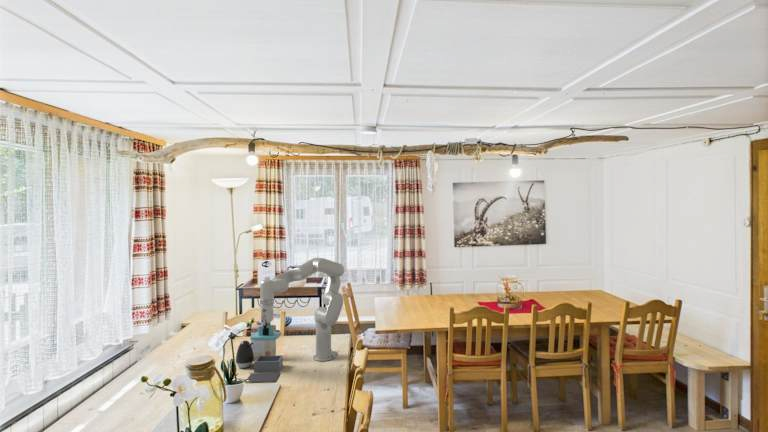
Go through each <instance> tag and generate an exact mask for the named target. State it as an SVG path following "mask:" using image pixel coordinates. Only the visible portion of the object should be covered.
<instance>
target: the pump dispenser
mask: <svg viewBox="0 0 768 432" xmlns="http://www.w3.org/2000/svg"><path fill="white" fill-rule="evenodd" d="M252 344H253V342H252V343H251V342H250V341H249V340H247V339H246V340H243V341H241V342H240V343H239V345H238V347H237V350H236V351H237V352H236V355H235V363H236V364H235V365H237V367H238V368H241V369H247V368H249V367H251V366H252V364H254V361H253V360H254V354H253V349H252V347H251V345H252Z"/></svg>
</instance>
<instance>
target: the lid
mask: <svg viewBox="0 0 768 432" xmlns="http://www.w3.org/2000/svg"><path fill="white" fill-rule="evenodd" d="M259 325H260V326H259V332H256V333H255V334H254V335H253V336H252V337H251V336H250V341H251V340H254V341H264V340H276V341H277V340H278V339H279V338H280V337H281V335H282V331H276V332H274V325H275V324H271V325H268V328H269V335H263V325H262V324H259Z"/></svg>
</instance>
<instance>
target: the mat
mask: <svg viewBox="0 0 768 432" xmlns="http://www.w3.org/2000/svg"><path fill="white" fill-rule="evenodd" d="M280 374H281V371H279V372H262V373H254V372H252V373H250V374H249V375H248V377H247V378H246V380H249V381H250V382H252V383H251V384H256V383H257V384H261V383H262V384H265V383H276V382H277V380H278V378H279V376H280ZM245 384H248V383H247V382H246V383H245Z"/></svg>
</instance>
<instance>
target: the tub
mask: <svg viewBox="0 0 768 432" xmlns="http://www.w3.org/2000/svg"><path fill="white" fill-rule="evenodd" d="M283 357H284V355H282V354H280V355H279V354H276V356H258V358H257V359H256V360H255V361H253V373H279V372H281V370H282V368H283V366H284V365H283V364H284V363H283V362H284V360H283V359H284V358H283Z"/></svg>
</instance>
